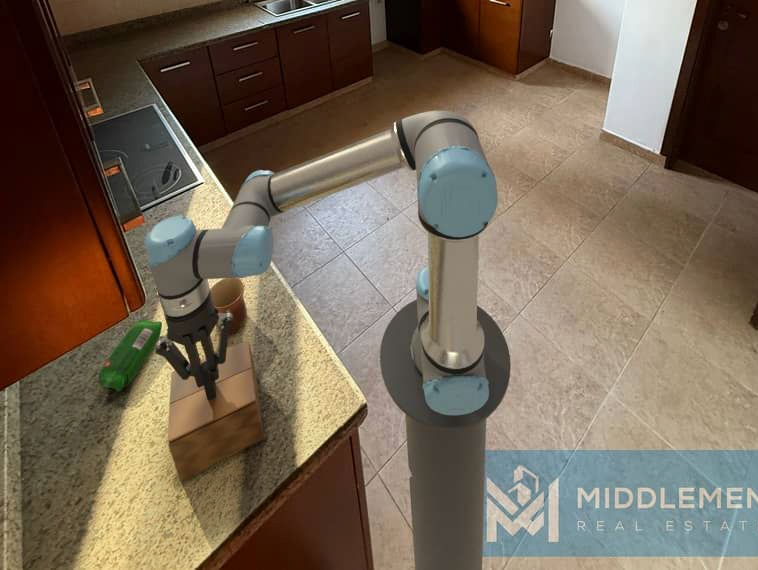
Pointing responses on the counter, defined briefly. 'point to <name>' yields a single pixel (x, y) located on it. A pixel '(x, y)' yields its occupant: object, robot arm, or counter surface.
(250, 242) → the robot arm
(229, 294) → the mug
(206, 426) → the carton
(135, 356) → the snack package
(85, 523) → the counter surface
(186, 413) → the flap
